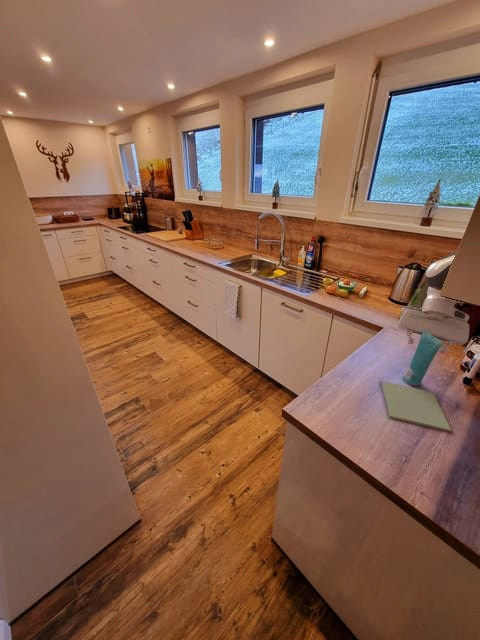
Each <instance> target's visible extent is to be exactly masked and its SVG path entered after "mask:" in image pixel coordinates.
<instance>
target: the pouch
mask: <svg viewBox="0 0 480 640" xmlns="http://www.w3.org/2000/svg"><path fill="white" fill-rule="evenodd" d="M427 290H428V286H427V284H426V281H425V273H423V276H422V278H421V279H420V281H419V283H418V284H417V288H416V289H415V291H414V293H413V295H412V297H411V299H410V301H409V302H408V304H407V305H406V307H408V306H411V307H414V308H420V309H422V306H423V303H424V301H425V299H426V297H427ZM400 318H401V316H400V317H399V319H400Z"/></svg>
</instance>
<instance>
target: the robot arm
mask: <svg viewBox="0 0 480 640" xmlns="http://www.w3.org/2000/svg"><path fill="white" fill-rule="evenodd" d="M457 251H458V250H455V251H454V252H452V253H450V254H448V255H446V256H443V257H441V258H439V259H437V260H435V261H433V262H432V263H430V265H428V266H427V268H426V270H425V272H424V274H425V281H426V284H427V290H426V297H425V301H424V303H423V306H422V309H420V308H414V307H411V306H408V307H407V306H404V307H402V308H401V310H400V317H401V318H400V317H399V320H398V323H397V326H396V327H397V329H398V330H401V331H404V332H406V337H407V344H409V345H413V344H414V341H415V338H413V337H412V334H416V335H419V336H421V335H422V332H423V330H424V331H425V332H427V333H429V334H430V335H432V336H434V337H435V338H437V339H439V340H441V341H442V342H444V343H445V346H441V347H440V348H439V350H438V353H440V354H444V355H445V354H446V352H447V349H448V348H450V347H451V346H452V345H455V346H456V345H457V346H464V345H465V344H467V343H468V342H469V337H470V324H469V323H468V321H469V320H470V315H469V314H468V313H465V312H463V311H462V310H459V309H458V308H456V307H455V305H456V304H465V303H464V302H460V301H456V300H452V299H449V298H445V297H441V296H440V292H441V289H442V287H443V284H444V281H445V279H446V277H447V274H448V271H449V268H450V266H451V264H452V261H453V259H454V257H455V254H456V252H457Z"/></svg>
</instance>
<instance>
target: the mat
mask: <svg viewBox="0 0 480 640" xmlns="http://www.w3.org/2000/svg"><path fill="white" fill-rule="evenodd" d="M381 387H382V391H383V395H384V399H385V404H386V408H387V412H388V414H389V418H390V419H395V420H399V421H402V422H407V423H412V424H415V425H420V426H422V427H423V426H424V427H427V428H431V429H436V430H440V431H444V432H449V433H451V432H452V429H451V426H450V425H449V422H448V420H447V418H446V416H445V414H444V411H443V410H442V407H441V405H440V403H439V401H438V399H437V397H436V395H435V394H434V391H429V390H424V389H419V388H414V387H410V386H405V385H400V384H397V383H396V384H395V383H391V382H386V381H381Z"/></svg>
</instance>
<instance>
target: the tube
mask: <svg viewBox="0 0 480 640" xmlns="http://www.w3.org/2000/svg"><path fill="white" fill-rule="evenodd" d="M444 343H445V341H441V340H439V339H437V338H435V337H434V336H432V335H430V334H429V333H427V332H425V331H424V330H423V332H422V335H420V338H419V341H418V344H417V347H416V349H415V352H414V354H413V356H412V359H411V360H410V364H409V367H408V369H407V371H406V374H405V376H404V381H405V382H406V383H407V384H409V385H411V386H414V387H415V386H416V387H418V386H420V385H421V383H422V381H423V379H424V377H425V375H426V373H427V371H428V369H429V368H430V366H431V364H432V362H433V360H434V359H435V357H436V356H437V353H439V351H440V348H441V347H442V346H443V344H444Z"/></svg>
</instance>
